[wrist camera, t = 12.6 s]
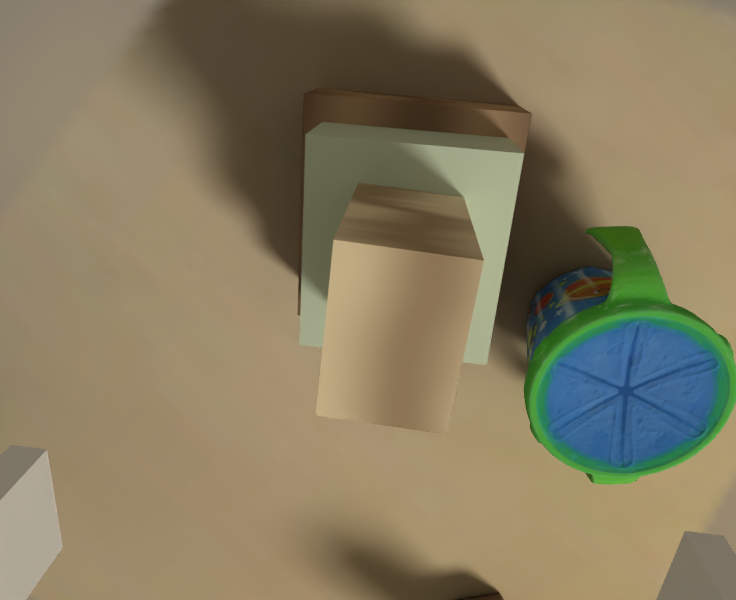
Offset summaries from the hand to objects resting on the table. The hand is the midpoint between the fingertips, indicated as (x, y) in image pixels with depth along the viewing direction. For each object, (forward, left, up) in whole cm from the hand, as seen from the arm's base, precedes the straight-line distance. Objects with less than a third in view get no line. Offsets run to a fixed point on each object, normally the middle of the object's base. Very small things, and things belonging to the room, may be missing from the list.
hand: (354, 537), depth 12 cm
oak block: (0, 0, -18) cm, 18 cm away
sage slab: (0, 0, -23) cm, 23 cm away
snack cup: (+13, -6, -28) cm, 31 cm away
